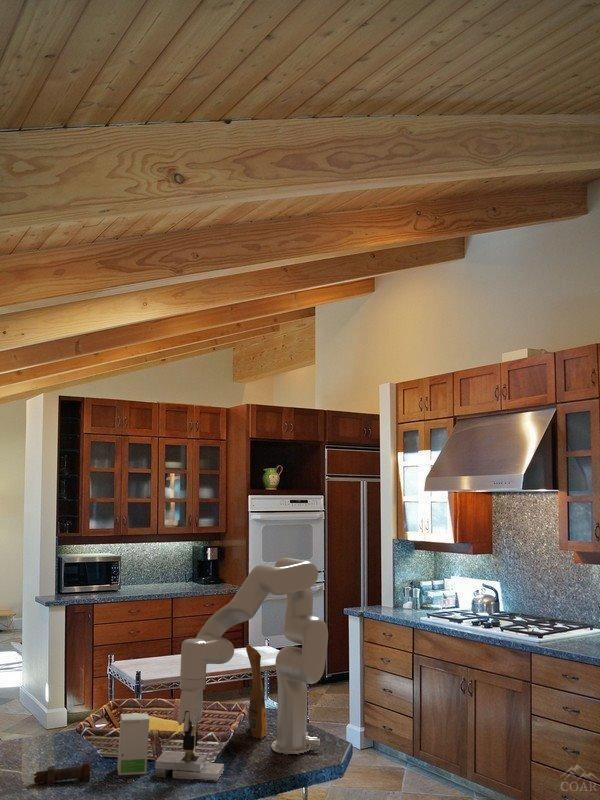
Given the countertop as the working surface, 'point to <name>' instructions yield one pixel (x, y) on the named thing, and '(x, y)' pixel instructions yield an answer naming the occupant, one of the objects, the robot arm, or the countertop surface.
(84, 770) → the bolt
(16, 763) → the countertop surface
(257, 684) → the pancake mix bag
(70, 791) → the countertop surface
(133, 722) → the skincare box
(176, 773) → the grey electronic gadget
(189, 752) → the pin
